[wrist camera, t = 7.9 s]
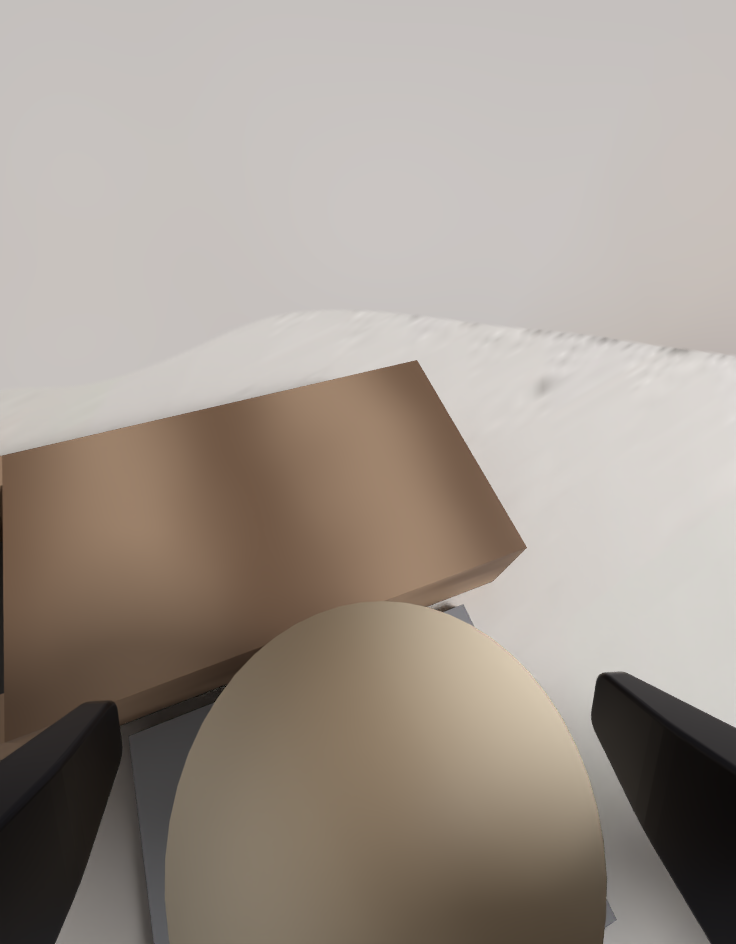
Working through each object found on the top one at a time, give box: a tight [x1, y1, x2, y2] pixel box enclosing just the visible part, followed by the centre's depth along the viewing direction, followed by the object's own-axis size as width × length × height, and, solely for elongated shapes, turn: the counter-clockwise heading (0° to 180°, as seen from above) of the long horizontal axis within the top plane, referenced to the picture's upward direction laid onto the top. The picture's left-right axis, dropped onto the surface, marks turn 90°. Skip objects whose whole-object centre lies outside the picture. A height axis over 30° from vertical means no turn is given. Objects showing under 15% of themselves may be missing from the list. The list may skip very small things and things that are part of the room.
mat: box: [129, 605, 617, 944], centre depth 12 cm, size 10×8×1 cm
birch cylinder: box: [165, 601, 607, 944], centre depth 9 cm, size 5×5×8 cm
